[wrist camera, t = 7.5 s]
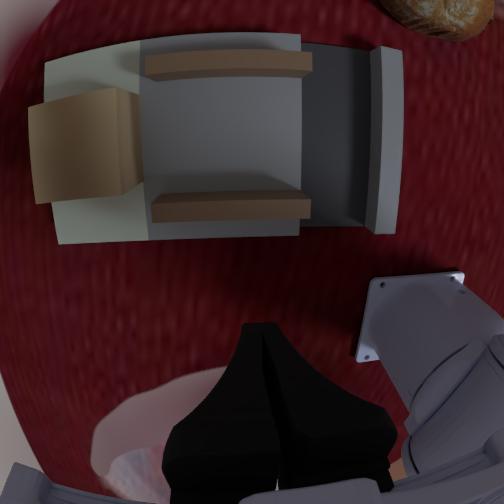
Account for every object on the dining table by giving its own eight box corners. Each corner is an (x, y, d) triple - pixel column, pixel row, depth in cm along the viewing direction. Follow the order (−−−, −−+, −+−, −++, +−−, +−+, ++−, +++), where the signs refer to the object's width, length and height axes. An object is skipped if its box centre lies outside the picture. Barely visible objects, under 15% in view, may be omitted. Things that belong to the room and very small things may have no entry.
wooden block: (140, 95, 15) (116, 87, 12) (143, 181, 17) (121, 195, 14) (64, 108, 15) (28, 107, 11) (69, 188, 17) (35, 204, 13)
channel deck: (387, 56, 17) (422, 43, 13) (381, 224, 21) (413, 247, 17) (59, 66, 16) (23, 57, 11) (71, 234, 20) (40, 258, 16)
